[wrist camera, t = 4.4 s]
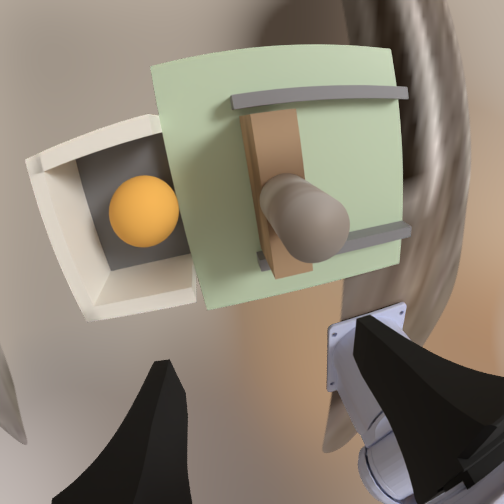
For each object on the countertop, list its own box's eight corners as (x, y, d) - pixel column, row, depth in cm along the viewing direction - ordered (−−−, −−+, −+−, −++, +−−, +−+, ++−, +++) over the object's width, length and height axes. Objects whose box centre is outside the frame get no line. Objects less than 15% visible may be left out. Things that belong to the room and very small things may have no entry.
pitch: (391, 256, 22) (423, 284, 18) (119, 317, 21) (107, 357, 17) (381, 51, 15) (421, 42, 11) (52, 106, 14) (15, 106, 10)
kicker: (294, 240, 19) (349, 315, 12) (257, 247, 18) (293, 331, 11) (277, 110, 15) (340, 104, 8) (235, 116, 15) (264, 111, 8)
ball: (130, 237, 18) (188, 224, 18) (113, 266, 15) (183, 251, 15) (113, 179, 16) (174, 162, 17) (89, 195, 13) (163, 174, 13)
